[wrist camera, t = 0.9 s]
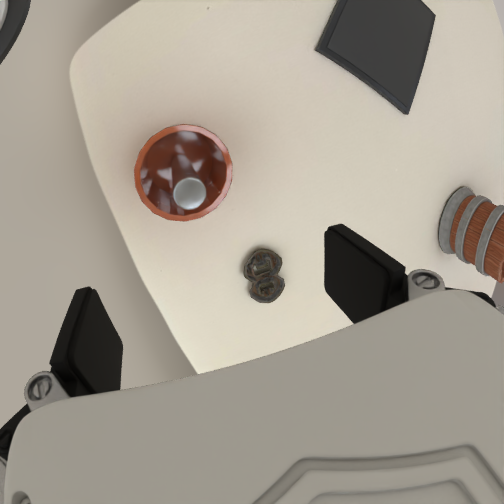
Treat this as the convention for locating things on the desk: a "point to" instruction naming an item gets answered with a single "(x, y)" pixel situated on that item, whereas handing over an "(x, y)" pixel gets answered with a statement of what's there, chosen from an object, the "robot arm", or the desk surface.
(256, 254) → the corroded twin loop
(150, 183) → the holder
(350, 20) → the tablet
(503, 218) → the mug
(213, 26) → the desk surface
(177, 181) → the stylus
